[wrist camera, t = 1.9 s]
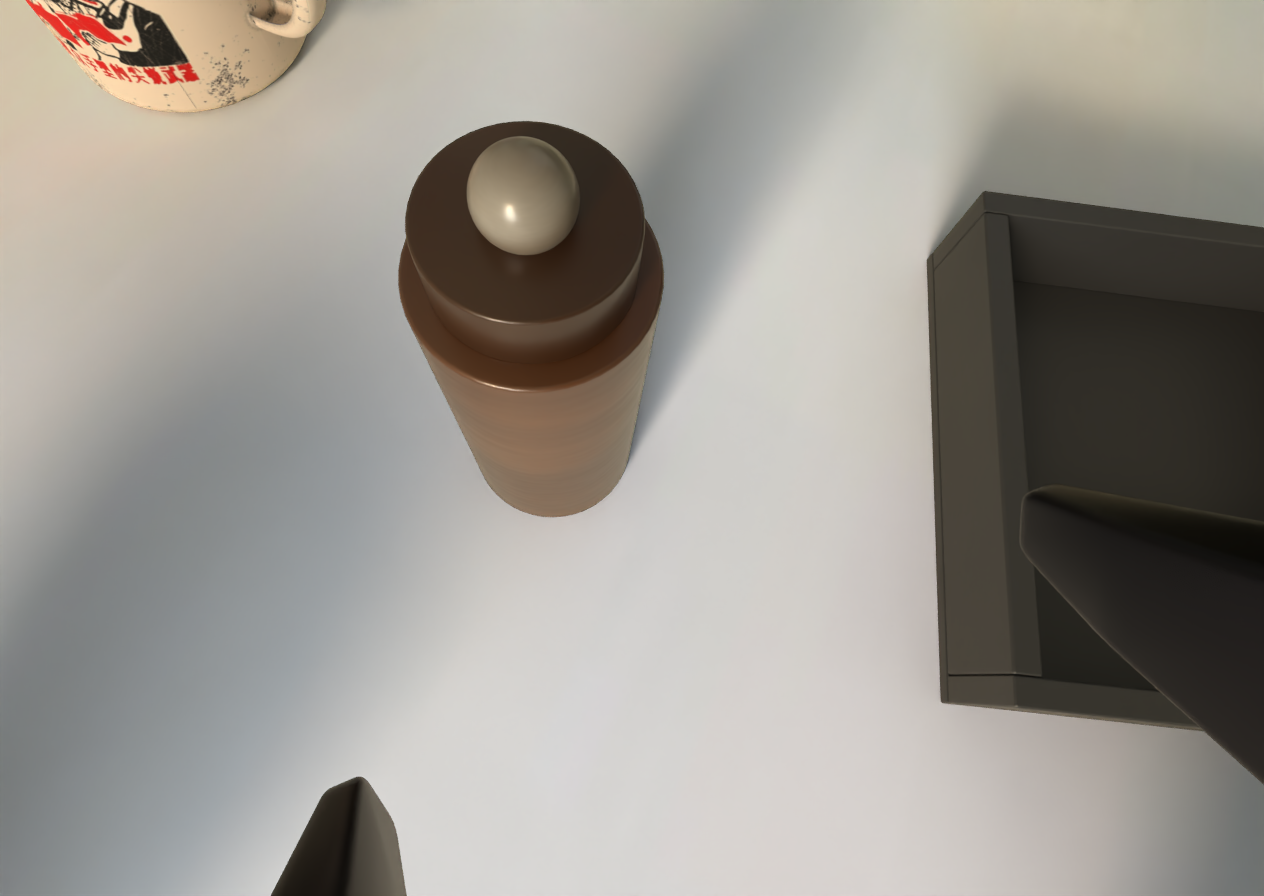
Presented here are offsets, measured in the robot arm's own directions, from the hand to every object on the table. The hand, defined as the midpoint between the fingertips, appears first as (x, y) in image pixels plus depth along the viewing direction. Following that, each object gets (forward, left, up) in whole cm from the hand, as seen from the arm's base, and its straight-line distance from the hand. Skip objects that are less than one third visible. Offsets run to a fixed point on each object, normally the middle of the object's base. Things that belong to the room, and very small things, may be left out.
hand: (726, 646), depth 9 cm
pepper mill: (+7, +4, -13) cm, 15 cm away
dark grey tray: (+8, -16, -13) cm, 22 cm away
